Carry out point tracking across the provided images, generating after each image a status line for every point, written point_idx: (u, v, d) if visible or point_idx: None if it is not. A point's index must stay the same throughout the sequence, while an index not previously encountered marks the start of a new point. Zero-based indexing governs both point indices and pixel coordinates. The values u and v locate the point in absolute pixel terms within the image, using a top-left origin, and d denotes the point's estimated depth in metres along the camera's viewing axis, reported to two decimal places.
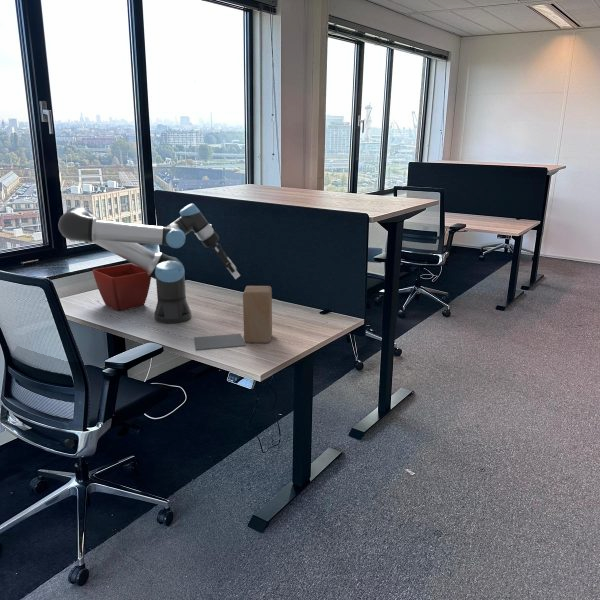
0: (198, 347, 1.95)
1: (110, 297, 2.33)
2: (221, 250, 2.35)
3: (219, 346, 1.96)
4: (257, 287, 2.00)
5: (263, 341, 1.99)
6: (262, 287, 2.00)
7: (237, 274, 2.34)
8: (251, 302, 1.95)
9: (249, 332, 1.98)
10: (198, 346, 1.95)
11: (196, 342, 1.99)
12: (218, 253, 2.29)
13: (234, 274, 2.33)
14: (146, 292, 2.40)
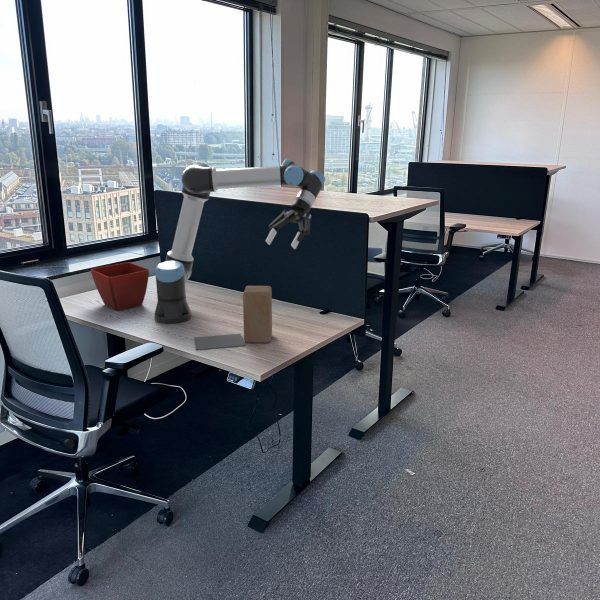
0: (198, 347, 1.95)
1: (108, 296, 2.33)
2: (297, 221, 2.19)
3: (219, 346, 1.96)
4: (257, 287, 2.00)
5: (263, 341, 1.99)
6: (262, 287, 2.00)
7: (295, 245, 2.11)
8: (251, 302, 1.95)
9: (249, 332, 1.98)
10: (198, 346, 1.95)
11: (196, 342, 1.99)
12: (308, 218, 2.15)
13: (295, 242, 2.11)
14: (144, 291, 2.39)
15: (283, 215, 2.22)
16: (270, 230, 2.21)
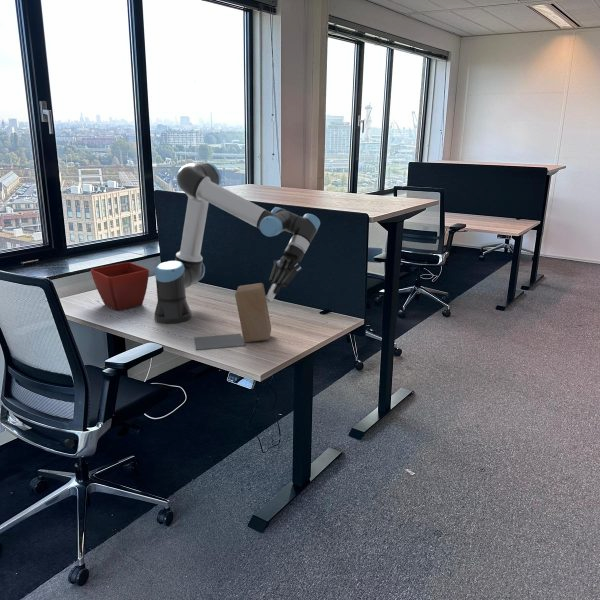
0: (198, 347, 1.95)
1: (108, 296, 2.33)
2: None
3: (219, 346, 1.96)
4: (249, 286, 1.99)
5: (262, 338, 1.99)
6: (254, 285, 2.00)
7: (272, 298, 2.01)
8: (244, 301, 1.95)
9: (247, 331, 1.98)
10: (198, 346, 1.95)
11: (196, 342, 1.99)
12: (294, 271, 2.01)
13: (271, 295, 2.00)
14: (144, 291, 2.39)
15: (276, 265, 2.07)
16: None
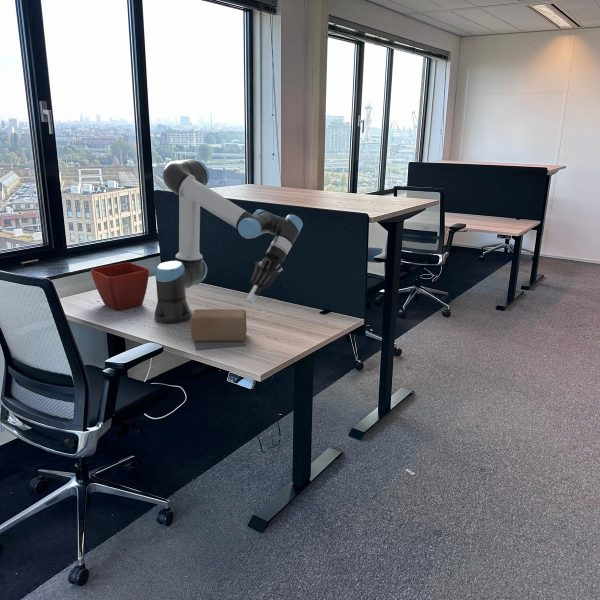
0: (198, 347, 1.95)
1: (108, 296, 2.33)
2: None
3: (219, 346, 1.96)
4: None
5: (241, 323, 1.97)
6: None
7: (253, 300, 1.99)
8: (201, 334, 1.98)
9: (232, 336, 1.99)
10: (198, 346, 1.95)
11: (196, 342, 1.99)
12: (276, 272, 2.00)
13: (252, 296, 1.99)
14: (144, 291, 2.39)
15: (258, 266, 2.06)
16: (252, 287, 2.01)
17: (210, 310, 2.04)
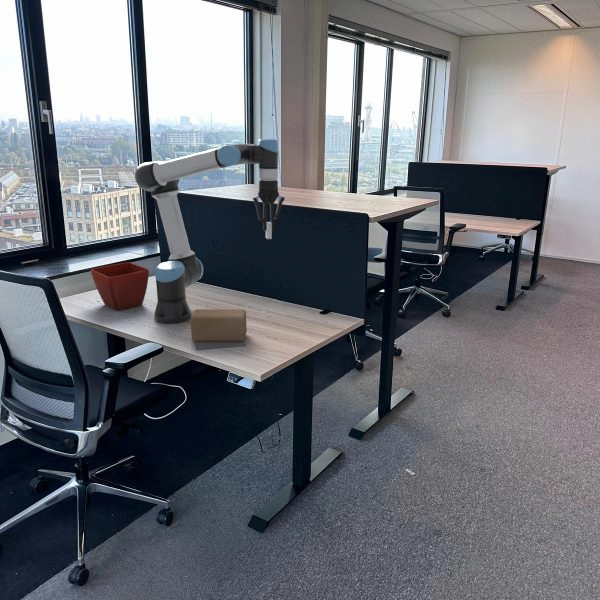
0: (198, 347, 1.95)
1: (108, 296, 2.33)
2: None
3: (219, 346, 1.96)
4: None
5: (241, 323, 1.97)
6: None
7: None
8: (201, 334, 1.98)
9: (232, 336, 1.99)
10: (198, 346, 1.95)
11: (196, 342, 1.99)
12: None
13: None
14: (144, 291, 2.39)
15: None
16: (264, 225, 2.15)
17: (210, 310, 2.04)
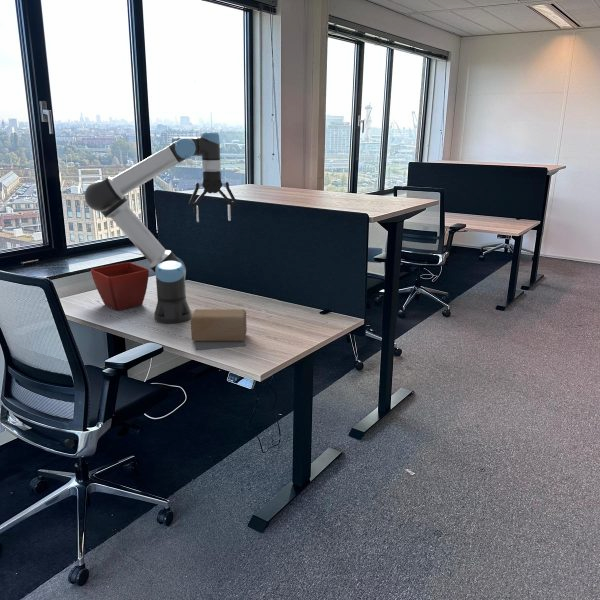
0: (198, 347, 1.95)
1: (108, 296, 2.33)
2: None
3: (219, 346, 1.96)
4: None
5: (241, 323, 1.97)
6: None
7: None
8: (201, 334, 1.98)
9: (232, 336, 1.99)
10: (198, 346, 1.95)
11: (196, 342, 1.99)
12: (229, 188, 2.27)
13: None
14: (144, 291, 2.39)
15: (198, 188, 2.24)
16: (194, 208, 2.26)
17: (210, 310, 2.04)
